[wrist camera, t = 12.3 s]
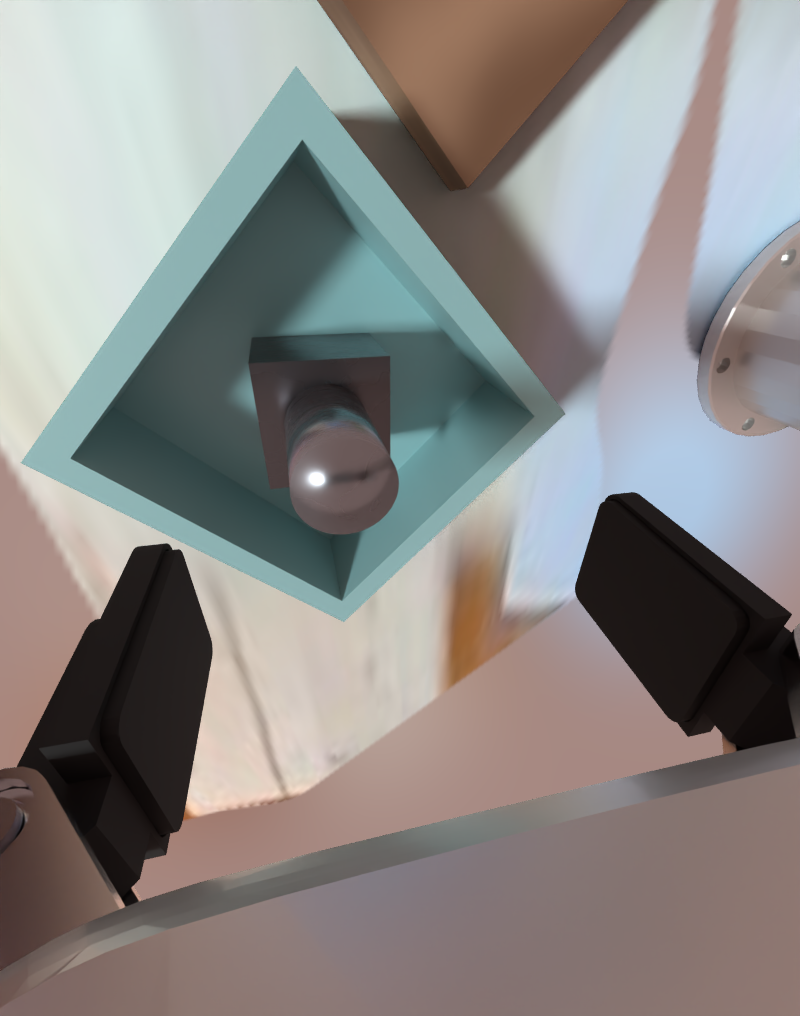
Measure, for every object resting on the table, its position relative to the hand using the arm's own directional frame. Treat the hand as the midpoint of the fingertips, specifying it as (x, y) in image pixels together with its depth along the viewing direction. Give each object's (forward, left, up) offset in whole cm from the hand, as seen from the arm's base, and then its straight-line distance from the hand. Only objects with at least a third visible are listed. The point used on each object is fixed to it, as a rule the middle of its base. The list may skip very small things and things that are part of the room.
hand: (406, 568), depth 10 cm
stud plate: (+8, -15, -14) cm, 22 cm away
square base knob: (+1, +1, -13) cm, 13 cm away
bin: (+1, +1, -14) cm, 14 cm away
